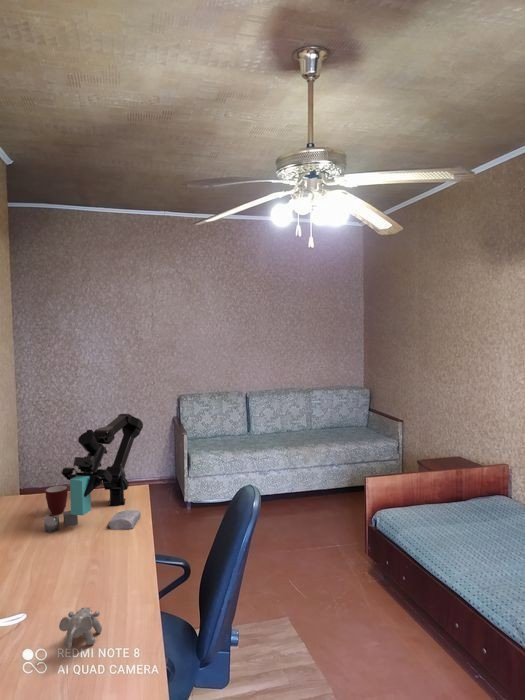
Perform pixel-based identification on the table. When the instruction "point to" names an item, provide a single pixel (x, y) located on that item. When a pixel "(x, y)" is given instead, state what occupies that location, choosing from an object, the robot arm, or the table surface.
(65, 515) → the rubber cube
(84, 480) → the teal block
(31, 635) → the table surface
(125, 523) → the stone block
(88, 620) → the elephant statuette
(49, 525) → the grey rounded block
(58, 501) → the mug
